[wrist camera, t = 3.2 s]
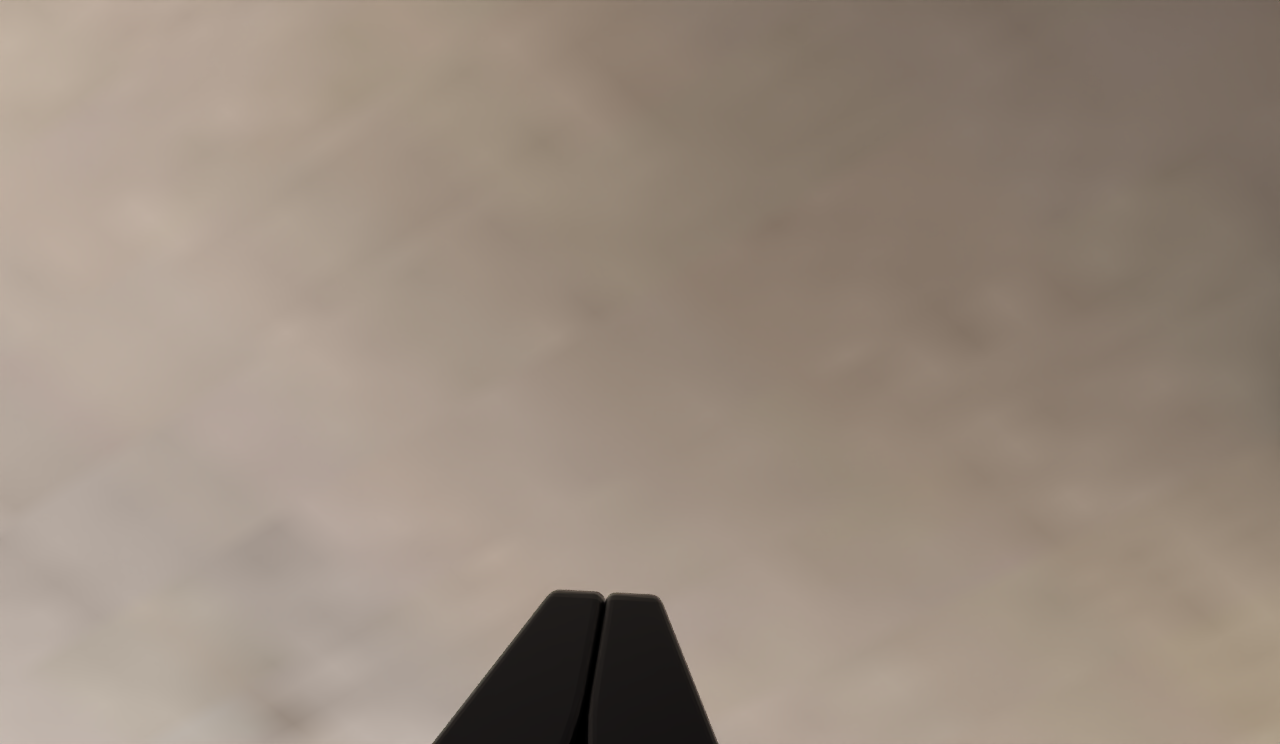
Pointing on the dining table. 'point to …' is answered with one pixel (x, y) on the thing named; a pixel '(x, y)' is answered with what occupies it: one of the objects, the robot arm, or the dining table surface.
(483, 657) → the dining table surface
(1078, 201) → the dining table surface
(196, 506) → the dining table surface
